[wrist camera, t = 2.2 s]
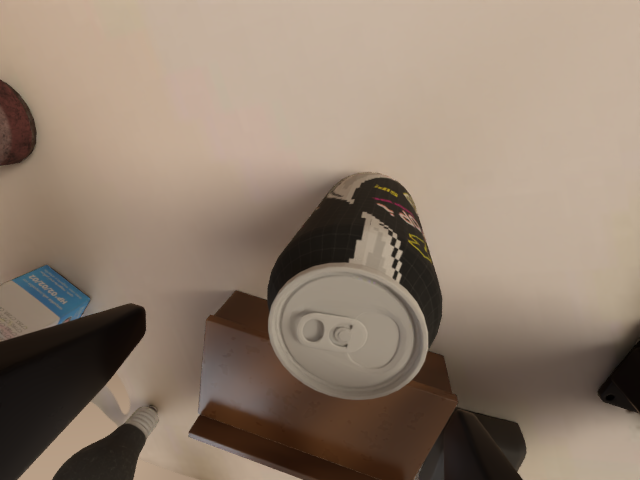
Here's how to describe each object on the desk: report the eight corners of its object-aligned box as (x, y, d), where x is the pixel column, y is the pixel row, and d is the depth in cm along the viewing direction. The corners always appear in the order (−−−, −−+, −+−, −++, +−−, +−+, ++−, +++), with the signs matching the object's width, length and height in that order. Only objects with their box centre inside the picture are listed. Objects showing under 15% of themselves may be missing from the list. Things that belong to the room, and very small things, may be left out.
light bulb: (127, 416, 33) (26, 532, 24) (129, 379, 30) (18, 492, 21) (175, 436, 32) (92, 562, 23) (181, 401, 30) (90, 525, 21)
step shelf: (447, 355, 22) (464, 425, 17) (403, 441, 26) (406, 518, 21) (233, 288, 24) (192, 333, 19) (222, 378, 28) (185, 436, 23)
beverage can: (332, 161, 19) (255, 222, 8) (427, 180, 18) (489, 278, 7) (316, 246, 21) (240, 386, 10) (401, 266, 20) (417, 439, 9)
